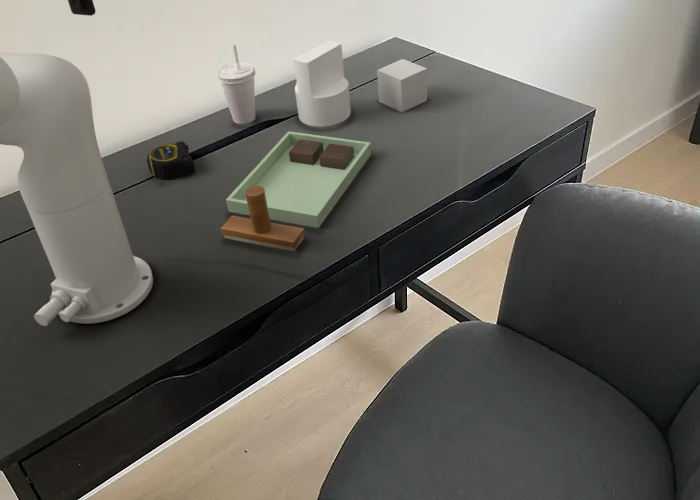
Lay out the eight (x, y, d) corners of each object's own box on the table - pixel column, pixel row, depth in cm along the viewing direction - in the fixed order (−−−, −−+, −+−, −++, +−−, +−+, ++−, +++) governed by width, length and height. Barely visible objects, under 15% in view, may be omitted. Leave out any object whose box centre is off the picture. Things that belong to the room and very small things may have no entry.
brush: (296, 256, 98) (287, 204, 93) (223, 242, 102) (211, 191, 97) (306, 242, 101) (298, 190, 95) (234, 229, 104) (224, 178, 99)
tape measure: (197, 178, 116) (192, 157, 113) (153, 188, 114) (147, 167, 112) (191, 157, 121) (186, 137, 119) (148, 167, 120) (143, 146, 117)
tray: (319, 232, 102) (317, 215, 100) (229, 215, 107) (225, 199, 105) (371, 158, 116) (370, 142, 115) (290, 146, 121) (288, 131, 120)
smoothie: (255, 132, 126) (242, 53, 117) (220, 130, 127) (204, 52, 119) (268, 114, 131) (256, 37, 122) (234, 112, 132) (220, 36, 124)
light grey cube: (378, 102, 131) (376, 70, 128) (403, 90, 134) (402, 58, 131) (402, 112, 128) (400, 80, 124) (427, 100, 130) (426, 68, 127)
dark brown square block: (313, 165, 115) (312, 155, 113) (290, 161, 116) (288, 151, 115) (324, 152, 117) (322, 142, 116) (301, 149, 119) (299, 139, 118)
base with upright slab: (328, 135, 123) (321, 67, 116) (288, 122, 128) (278, 56, 121) (361, 113, 128) (356, 46, 121) (321, 101, 133) (314, 36, 126)
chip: (344, 170, 113) (343, 159, 112) (320, 166, 114) (319, 156, 113) (354, 156, 116) (353, 146, 115) (330, 153, 117) (329, 143, 116)
